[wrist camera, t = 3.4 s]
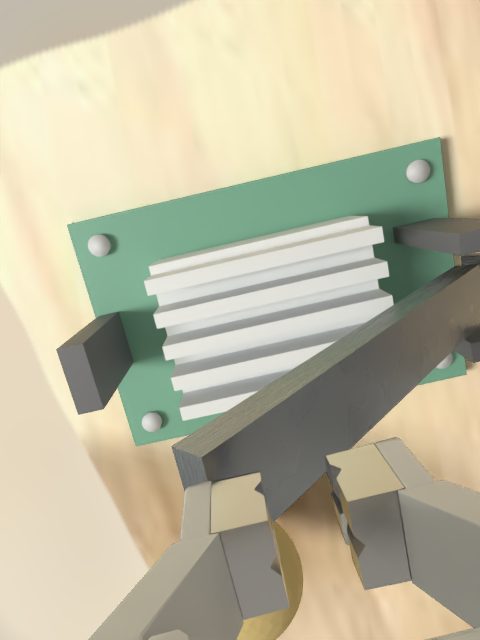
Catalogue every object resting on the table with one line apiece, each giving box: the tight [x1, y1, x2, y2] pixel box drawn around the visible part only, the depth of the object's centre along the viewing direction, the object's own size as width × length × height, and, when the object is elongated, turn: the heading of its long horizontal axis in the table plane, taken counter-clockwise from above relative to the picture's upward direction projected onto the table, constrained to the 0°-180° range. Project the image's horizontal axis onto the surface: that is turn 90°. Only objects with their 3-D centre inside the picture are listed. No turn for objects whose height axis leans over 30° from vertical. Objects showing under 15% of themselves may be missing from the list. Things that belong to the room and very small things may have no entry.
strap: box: [172, 253, 480, 522], centre depth 15 cm, size 17×3×1 cm
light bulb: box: [237, 521, 303, 640], centre depth 25 cm, size 6×6×10 cm
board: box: [56, 137, 480, 446], centre depth 23 cm, size 21×14×8 cm, turn 103°
